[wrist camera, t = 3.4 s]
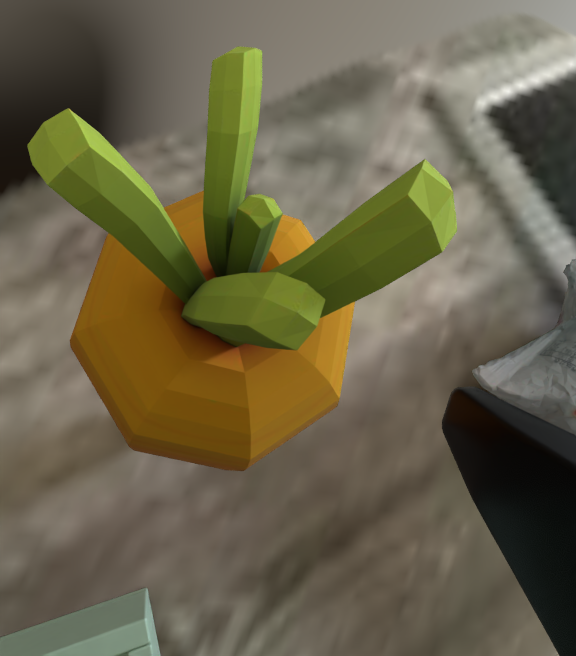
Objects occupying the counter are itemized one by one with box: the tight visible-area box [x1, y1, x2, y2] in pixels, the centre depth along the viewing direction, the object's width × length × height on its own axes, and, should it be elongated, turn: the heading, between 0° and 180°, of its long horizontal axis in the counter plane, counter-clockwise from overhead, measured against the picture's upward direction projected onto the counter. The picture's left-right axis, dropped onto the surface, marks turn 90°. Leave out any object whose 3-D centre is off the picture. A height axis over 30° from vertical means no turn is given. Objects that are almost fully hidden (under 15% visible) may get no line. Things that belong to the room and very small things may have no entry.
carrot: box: [27, 47, 457, 471], centre depth 11 cm, size 5×5×15 cm
